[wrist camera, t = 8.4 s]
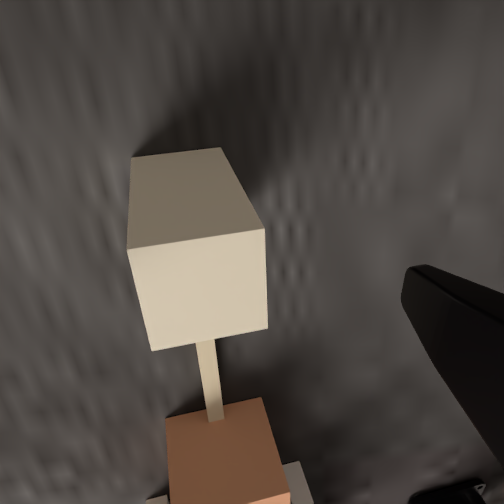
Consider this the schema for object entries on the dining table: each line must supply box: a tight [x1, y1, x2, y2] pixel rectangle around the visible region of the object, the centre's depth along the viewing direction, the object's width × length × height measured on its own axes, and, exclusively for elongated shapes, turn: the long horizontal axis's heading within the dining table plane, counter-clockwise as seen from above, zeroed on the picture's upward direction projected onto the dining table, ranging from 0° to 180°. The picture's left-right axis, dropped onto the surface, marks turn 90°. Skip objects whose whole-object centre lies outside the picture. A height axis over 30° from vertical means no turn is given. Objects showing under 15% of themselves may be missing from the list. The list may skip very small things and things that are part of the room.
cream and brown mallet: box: [127, 147, 290, 504], centre depth 16 cm, size 5×18×6 cm, turn 2°
